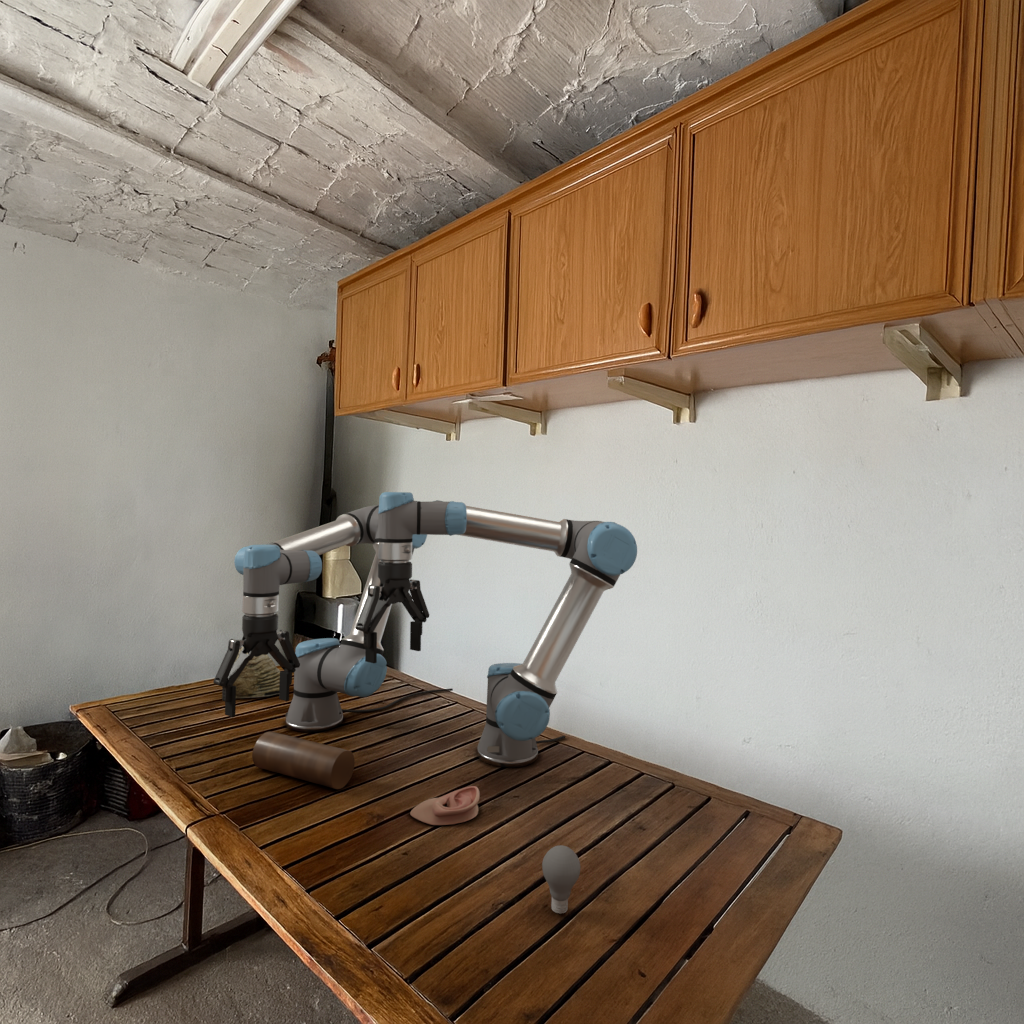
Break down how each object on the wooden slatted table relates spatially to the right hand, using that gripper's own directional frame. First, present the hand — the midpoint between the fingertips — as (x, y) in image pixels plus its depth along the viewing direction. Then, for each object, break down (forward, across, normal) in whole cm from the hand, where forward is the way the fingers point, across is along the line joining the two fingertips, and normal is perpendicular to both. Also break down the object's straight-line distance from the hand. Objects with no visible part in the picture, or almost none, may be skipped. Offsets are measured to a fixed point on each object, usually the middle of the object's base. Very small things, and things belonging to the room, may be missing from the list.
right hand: (394, 656), depth 141 cm
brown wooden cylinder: (+28, -11, +17) cm, 35 cm away
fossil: (+27, +15, +76) cm, 82 cm away
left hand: (+12, -17, +26) cm, 33 cm away
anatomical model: (+29, -3, -18) cm, 34 cm away
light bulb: (+29, -15, -53) cm, 62 cm away
